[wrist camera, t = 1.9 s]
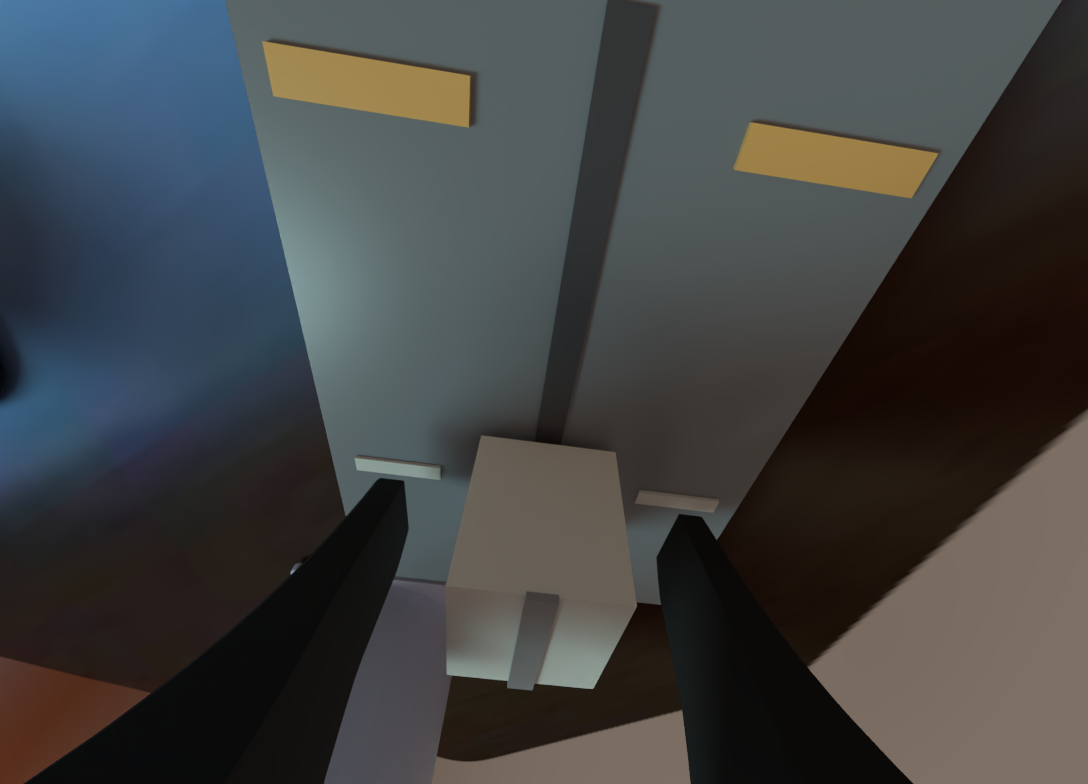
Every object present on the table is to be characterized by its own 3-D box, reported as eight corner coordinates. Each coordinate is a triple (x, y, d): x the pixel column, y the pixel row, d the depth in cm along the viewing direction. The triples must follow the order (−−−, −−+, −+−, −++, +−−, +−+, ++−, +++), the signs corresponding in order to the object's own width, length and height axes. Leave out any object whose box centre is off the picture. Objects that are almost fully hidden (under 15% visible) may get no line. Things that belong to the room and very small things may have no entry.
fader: (585, 542, 13) (592, 696, 10) (475, 530, 13) (445, 681, 10) (616, 450, 11) (638, 612, 8) (481, 433, 11) (444, 591, 7)
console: (664, 558, 18) (675, 609, 16) (378, 526, 17) (357, 575, 16) (983, -35, 7) (1115, -72, 5) (263, -172, 7) (157, -262, 5)
